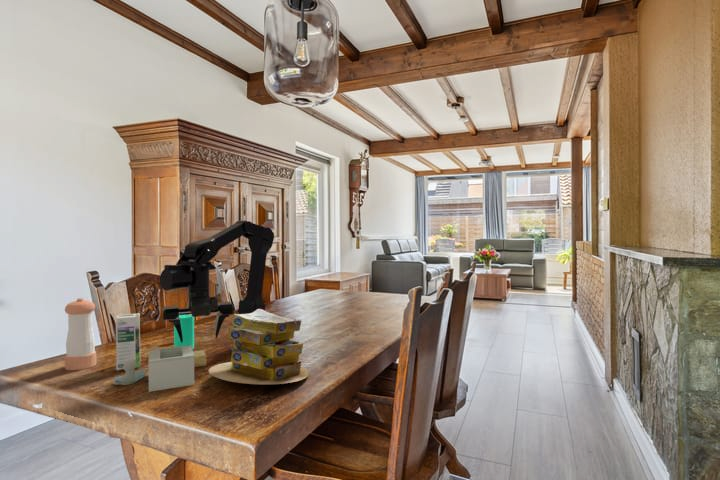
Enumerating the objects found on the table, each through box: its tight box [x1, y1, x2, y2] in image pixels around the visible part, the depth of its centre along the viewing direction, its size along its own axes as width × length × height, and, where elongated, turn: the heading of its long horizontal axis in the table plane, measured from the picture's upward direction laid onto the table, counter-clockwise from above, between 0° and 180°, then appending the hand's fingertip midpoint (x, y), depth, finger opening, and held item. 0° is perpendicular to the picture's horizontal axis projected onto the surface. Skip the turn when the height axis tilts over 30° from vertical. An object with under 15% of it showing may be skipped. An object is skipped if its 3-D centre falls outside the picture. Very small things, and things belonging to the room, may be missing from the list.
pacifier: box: [112, 359, 147, 386], centre depth 100 cm, size 7×6×6 cm
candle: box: [173, 314, 195, 350], centre depth 130 cm, size 6×6×12 cm
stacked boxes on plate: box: [208, 309, 309, 385], centre depth 103 cm, size 25×25×17 cm
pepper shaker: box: [64, 297, 97, 371], centre depth 112 cm, size 7×7×19 cm
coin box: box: [147, 345, 195, 393], centre depth 101 cm, size 10×10×7 cm
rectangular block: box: [193, 349, 207, 368], centre depth 115 cm, size 3×6×3 cm, turn 28°
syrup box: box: [115, 312, 141, 371], centre depth 112 cm, size 6×6×14 cm
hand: (199, 340), depth 115 cm, fingers open, 9 cm apart
